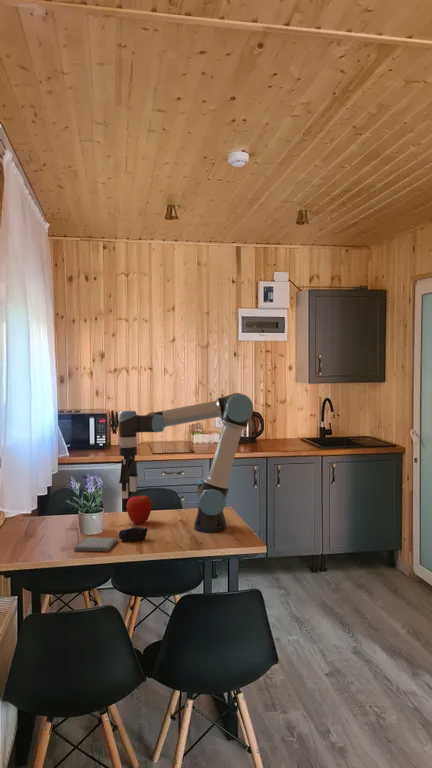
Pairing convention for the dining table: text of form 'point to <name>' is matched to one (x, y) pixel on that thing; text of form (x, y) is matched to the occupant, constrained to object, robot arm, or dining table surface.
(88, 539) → the plate
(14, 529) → the dining table surface
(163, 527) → the dining table surface
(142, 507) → the apple
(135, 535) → the mineral
